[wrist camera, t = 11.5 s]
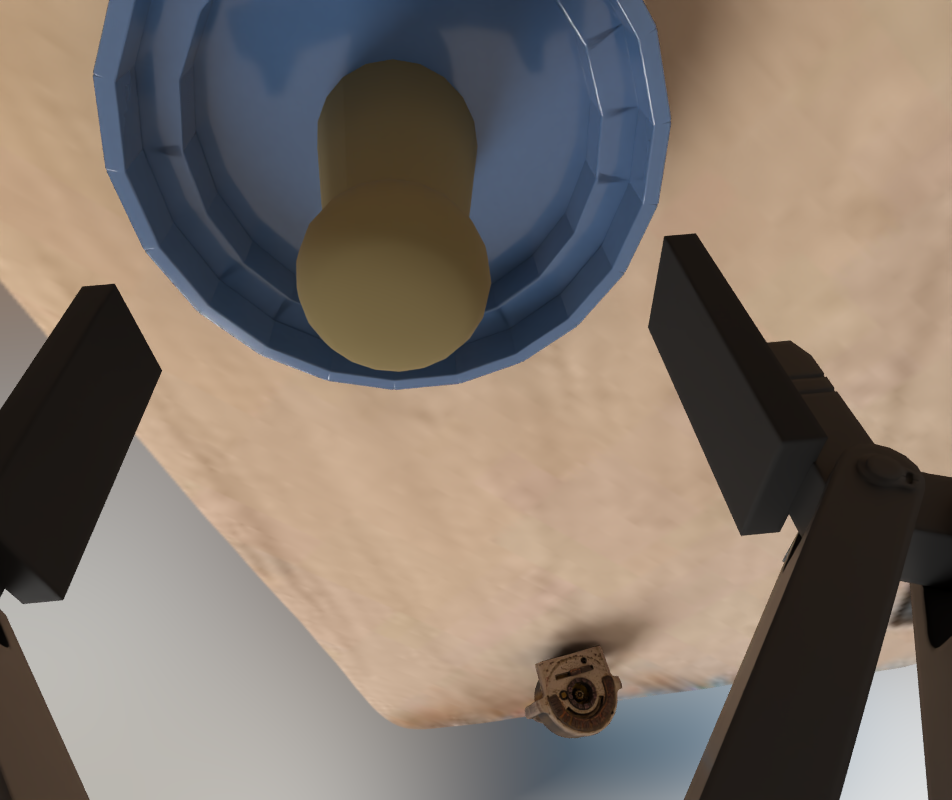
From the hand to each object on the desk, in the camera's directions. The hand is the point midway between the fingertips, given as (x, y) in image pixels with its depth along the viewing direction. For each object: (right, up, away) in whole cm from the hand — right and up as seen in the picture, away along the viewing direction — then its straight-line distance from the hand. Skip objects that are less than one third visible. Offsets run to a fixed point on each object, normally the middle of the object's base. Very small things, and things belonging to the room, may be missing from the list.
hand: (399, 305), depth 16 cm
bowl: (-1, +8, +9) cm, 12 cm away
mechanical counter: (+10, -28, +44) cm, 53 cm away
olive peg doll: (-1, +7, +8) cm, 11 cm away
